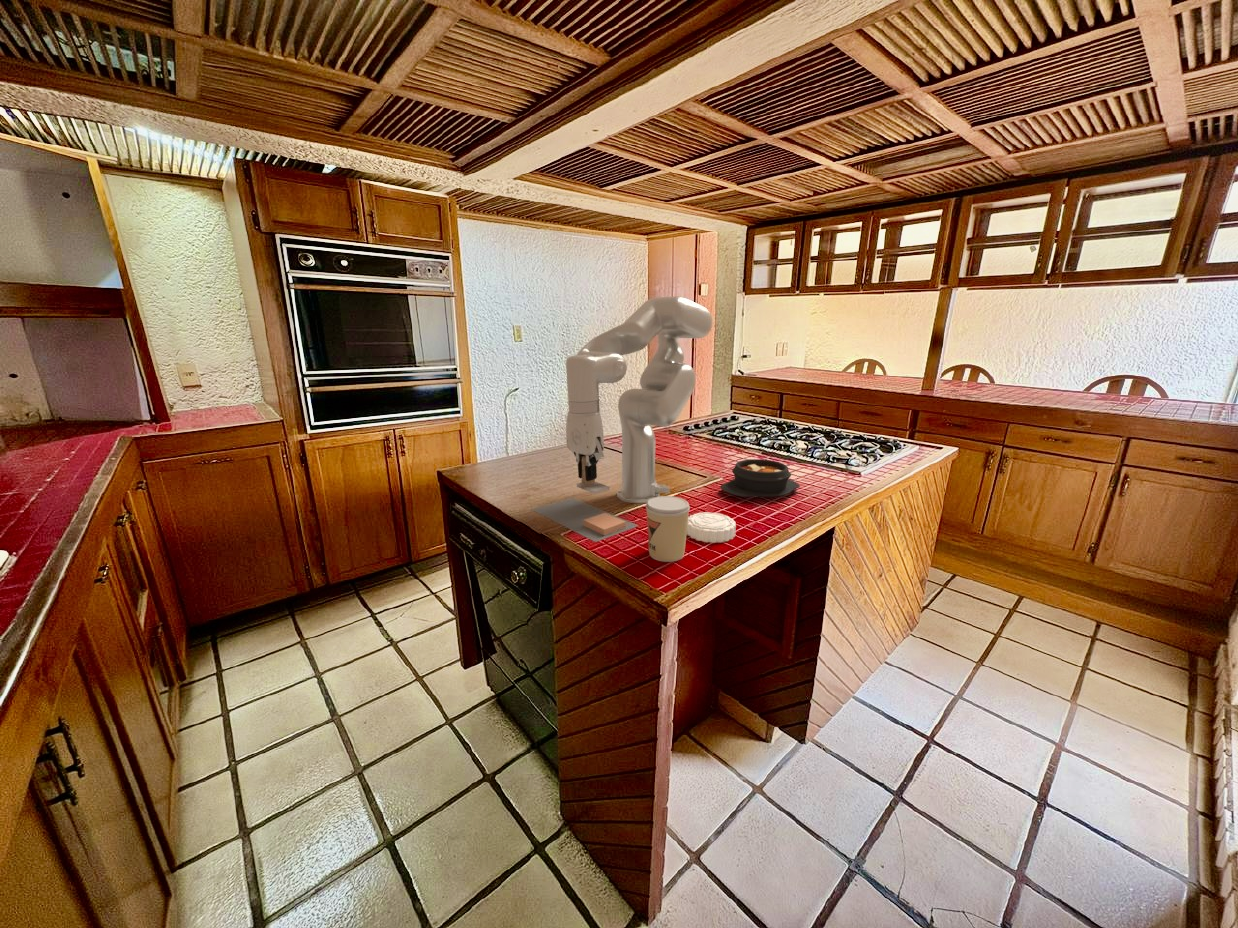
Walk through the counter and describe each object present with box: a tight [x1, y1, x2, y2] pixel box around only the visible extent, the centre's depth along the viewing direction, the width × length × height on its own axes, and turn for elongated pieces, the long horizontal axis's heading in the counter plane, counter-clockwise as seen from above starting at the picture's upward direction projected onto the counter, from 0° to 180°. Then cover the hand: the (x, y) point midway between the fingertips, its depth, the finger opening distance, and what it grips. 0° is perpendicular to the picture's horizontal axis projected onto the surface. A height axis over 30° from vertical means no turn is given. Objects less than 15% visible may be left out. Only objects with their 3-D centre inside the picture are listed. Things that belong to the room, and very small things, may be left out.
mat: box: [531, 497, 639, 543], centre depth 126 cm, size 28×14×1 cm, turn 42°
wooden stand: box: [576, 456, 610, 494], centre depth 120 cm, size 7×5×8 cm
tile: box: [584, 513, 626, 536], centre depth 119 cm, size 2×7×8 cm
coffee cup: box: [645, 495, 690, 563], centre depth 104 cm, size 9×9×12 cm
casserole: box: [719, 458, 801, 499], centre depth 144 cm, size 25×19×8 cm
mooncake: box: [686, 511, 737, 544], centre depth 116 cm, size 12×12×4 cm
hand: (587, 477), depth 122 cm, fingers closed on wooden stand
